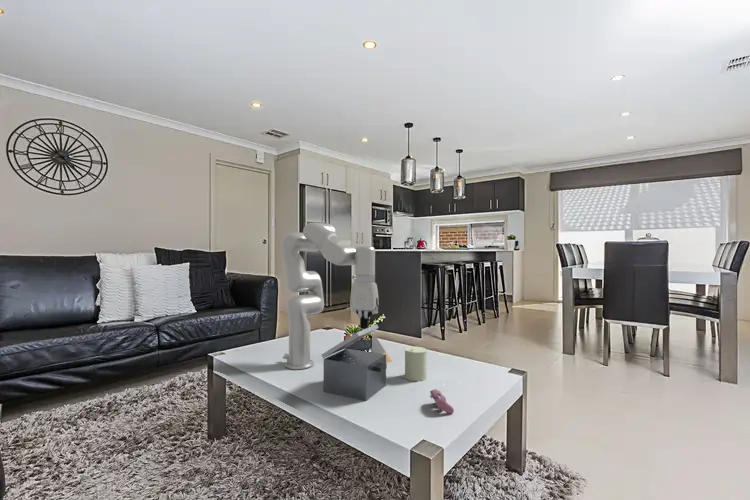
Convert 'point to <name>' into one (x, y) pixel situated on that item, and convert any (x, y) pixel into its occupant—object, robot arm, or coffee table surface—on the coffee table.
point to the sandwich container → (379, 348)
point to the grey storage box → (355, 373)
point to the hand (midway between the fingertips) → (364, 328)
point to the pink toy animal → (441, 401)
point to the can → (415, 363)
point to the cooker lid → (350, 340)
